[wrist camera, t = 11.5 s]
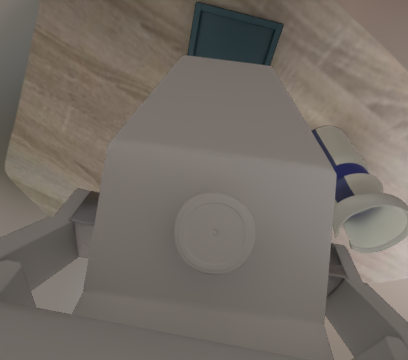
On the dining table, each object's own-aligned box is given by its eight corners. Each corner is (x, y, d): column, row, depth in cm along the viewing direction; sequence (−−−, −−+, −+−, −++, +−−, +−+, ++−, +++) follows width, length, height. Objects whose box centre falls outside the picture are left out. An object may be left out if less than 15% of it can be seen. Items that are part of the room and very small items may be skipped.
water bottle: (322, 176, 47) (389, 311, 27) (287, 152, 45) (332, 278, 25) (361, 144, 43) (475, 275, 23) (325, 115, 41) (416, 232, 21)
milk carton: (253, 146, 24) (293, 408, 9) (178, 136, 24) (87, 379, 9) (272, 65, 20) (414, 292, 5) (182, 54, 20) (21, 239, 5)
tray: (183, 89, 40) (181, 92, 39) (197, 1, 34) (195, 1, 33) (254, 106, 41) (254, 109, 40) (281, 23, 34) (283, 24, 33)
